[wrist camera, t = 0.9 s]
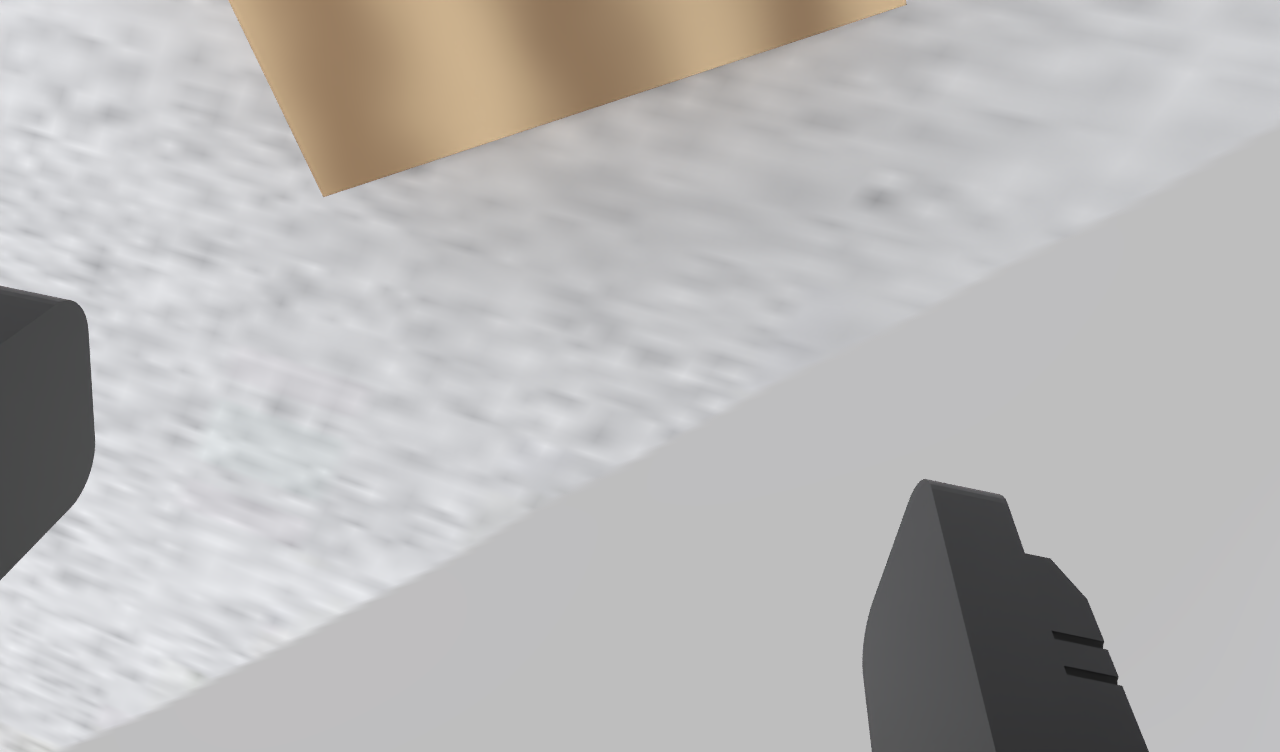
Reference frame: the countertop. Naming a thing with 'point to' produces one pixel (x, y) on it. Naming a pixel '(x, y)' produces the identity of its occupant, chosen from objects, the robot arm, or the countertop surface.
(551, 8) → the wooden block
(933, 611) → the robot arm
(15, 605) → the countertop surface
